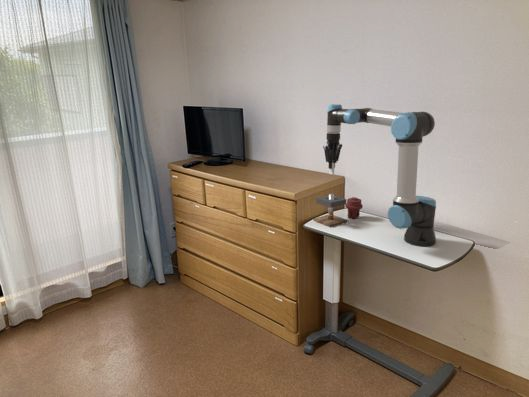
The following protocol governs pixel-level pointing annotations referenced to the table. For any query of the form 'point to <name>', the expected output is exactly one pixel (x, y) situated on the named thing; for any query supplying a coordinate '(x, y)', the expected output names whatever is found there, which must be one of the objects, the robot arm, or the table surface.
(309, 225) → the table surface
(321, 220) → the base
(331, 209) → the post
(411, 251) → the table surface
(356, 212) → the mechanical component
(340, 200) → the collar
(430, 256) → the table surface
